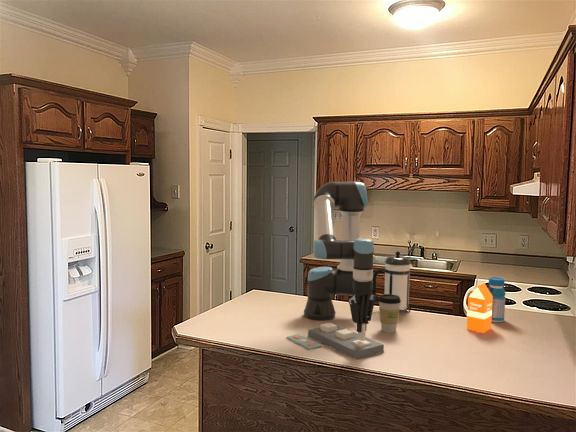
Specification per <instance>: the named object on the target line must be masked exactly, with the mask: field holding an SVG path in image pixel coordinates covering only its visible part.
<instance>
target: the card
mask: <svg viewBox="0 0 576 432" xmlns="http://www.w3.org/2000/svg"><path fill="white" fill-rule="evenodd" d="M285 338H286V339H287V340H289V341H291V342H293V343H295V344H297V345H298V346H301V347H303V348H305V349H307V350H309V351H311V350H315V349H319V348H322V345H321V344H320V343H318V342H316V341H313V340H311V339H309V338H307V337H305V336H302V335H300V334H293V335H289V336H286V337H285Z"/></svg>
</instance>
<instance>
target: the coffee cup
mask: <svg viewBox="0 0 576 432" xmlns="http://www.w3.org/2000/svg"><path fill="white" fill-rule="evenodd" d="M378 297H379V299H378V300H377V301H378V305H379V309H378V310H379V319H380V326H381V327H380V328H381V331H382V332H384V333H395V332H396V331H397V324H398V321H399V314H400V310H399V305H400V302H401V300H400V297H399V296H397V295H392V294H380V295H379V296H378Z"/></svg>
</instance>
